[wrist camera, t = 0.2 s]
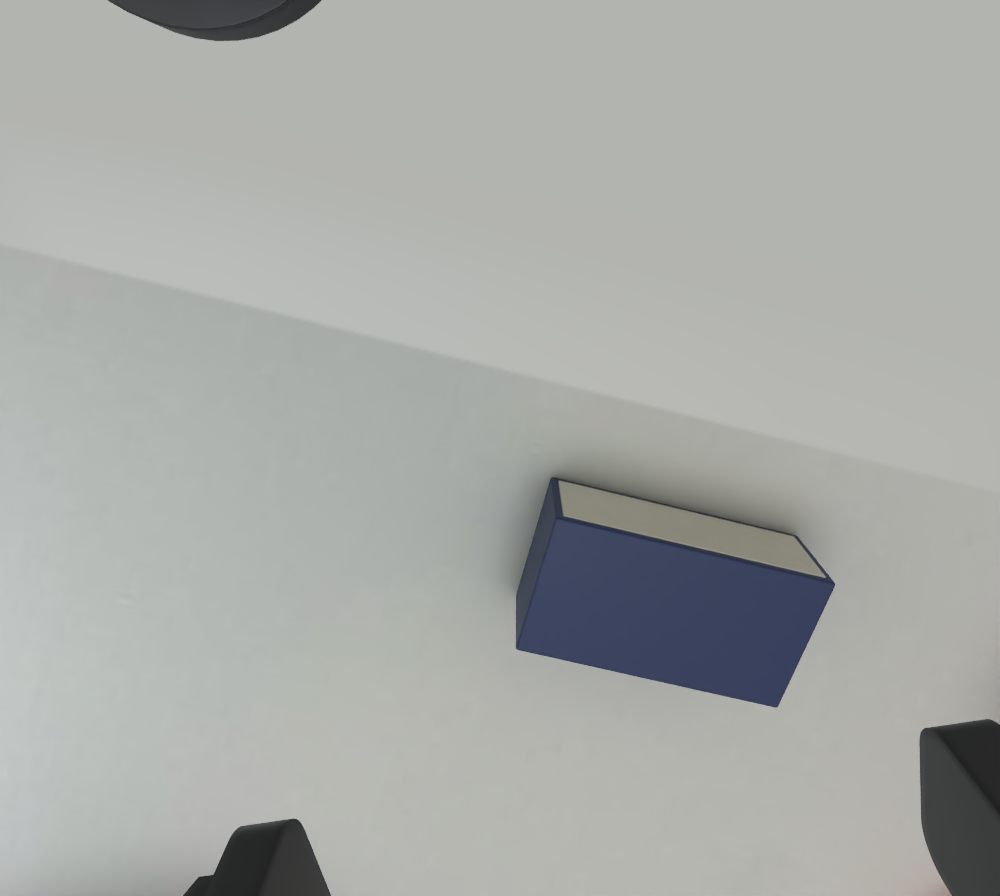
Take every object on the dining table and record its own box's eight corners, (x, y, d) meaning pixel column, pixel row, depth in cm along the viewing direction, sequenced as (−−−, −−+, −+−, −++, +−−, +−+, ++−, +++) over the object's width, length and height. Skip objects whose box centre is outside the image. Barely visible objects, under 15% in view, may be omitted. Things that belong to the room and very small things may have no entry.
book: (551, 475, 30) (555, 516, 26) (798, 534, 31) (837, 582, 27) (515, 596, 32) (515, 650, 28) (748, 649, 33) (777, 708, 29)
